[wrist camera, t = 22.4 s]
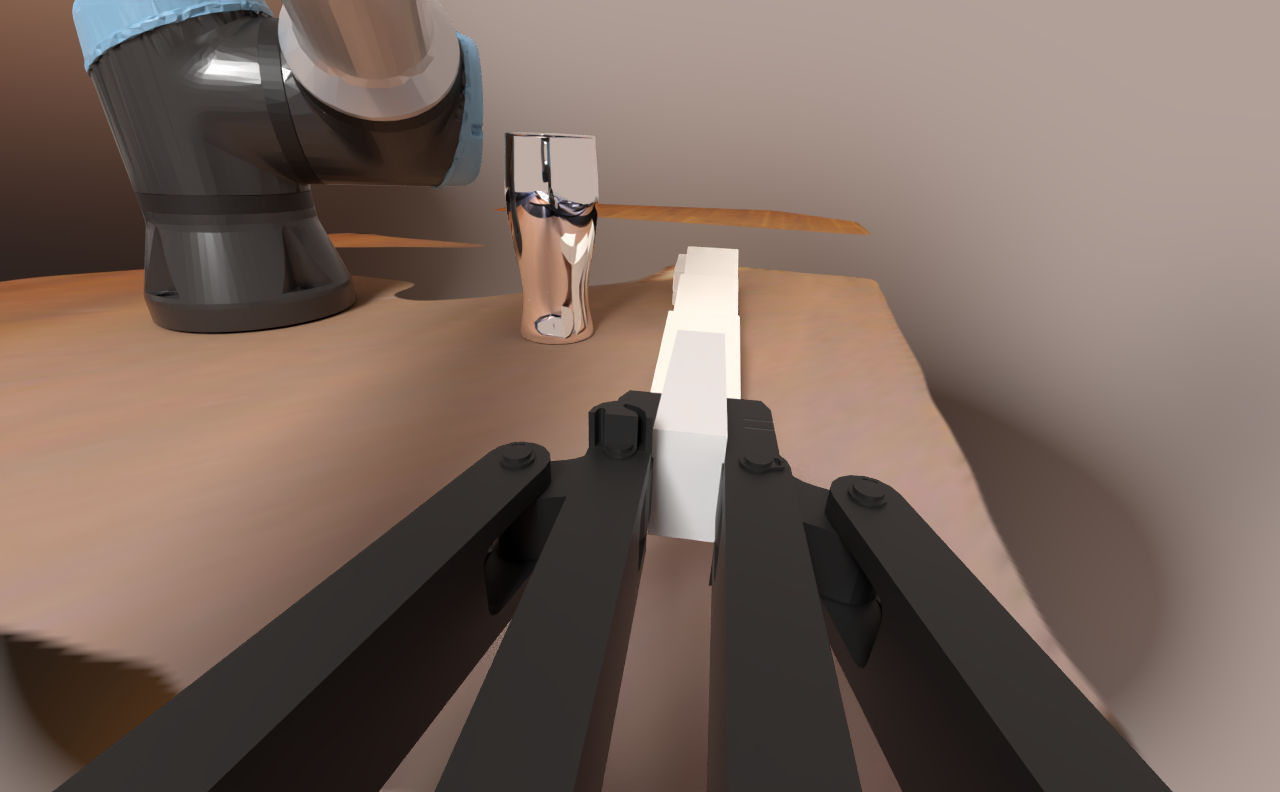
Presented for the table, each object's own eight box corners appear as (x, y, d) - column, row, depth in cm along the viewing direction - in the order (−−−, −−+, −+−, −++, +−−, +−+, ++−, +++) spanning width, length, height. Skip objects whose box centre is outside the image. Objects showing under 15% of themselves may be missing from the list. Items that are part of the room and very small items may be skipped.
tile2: (737, 344, 36) (738, 277, 44) (668, 338, 37) (680, 273, 44) (734, 366, 38) (735, 298, 45) (667, 360, 38) (679, 293, 46)
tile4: (723, 274, 51) (721, 256, 60) (673, 271, 51) (679, 253, 60) (721, 294, 52) (719, 273, 61) (672, 290, 52) (678, 270, 61)
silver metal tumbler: (522, 319, 46) (510, 133, 40) (599, 321, 46) (599, 137, 40) (508, 345, 40) (490, 130, 33) (597, 347, 40) (596, 135, 34)
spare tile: (740, 403, 28) (739, 316, 36) (649, 394, 28) (668, 310, 36) (736, 430, 29) (736, 340, 37) (649, 421, 29) (667, 335, 37)
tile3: (736, 314, 44) (738, 249, 50) (678, 309, 44) (687, 246, 51) (733, 331, 45) (735, 266, 52) (677, 327, 46) (687, 263, 52)
